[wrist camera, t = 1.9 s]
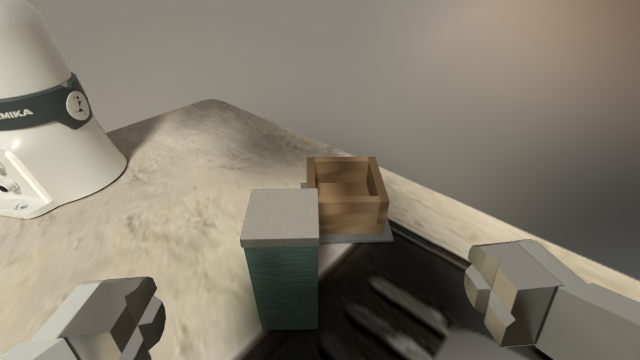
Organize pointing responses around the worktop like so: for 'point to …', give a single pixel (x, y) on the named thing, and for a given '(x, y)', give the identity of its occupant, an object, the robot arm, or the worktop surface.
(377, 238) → the mat
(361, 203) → the open wooden box
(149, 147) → the worktop surface
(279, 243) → the tea tin
